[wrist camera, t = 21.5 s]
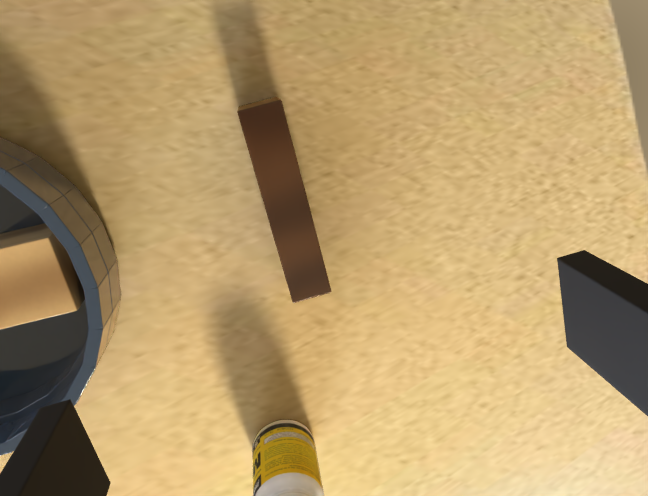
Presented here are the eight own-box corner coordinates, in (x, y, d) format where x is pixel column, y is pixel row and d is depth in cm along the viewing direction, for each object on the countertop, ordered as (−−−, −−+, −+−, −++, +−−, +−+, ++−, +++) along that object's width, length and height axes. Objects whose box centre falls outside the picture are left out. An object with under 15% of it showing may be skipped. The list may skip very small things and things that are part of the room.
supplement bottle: (247, 424, 41) (247, 509, 33) (309, 411, 41) (324, 493, 33) (258, 476, 42) (261, 569, 34) (318, 463, 43) (335, 552, 35)
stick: (238, 106, 34) (237, 111, 30) (277, 96, 34) (281, 99, 30) (288, 280, 38) (293, 303, 34) (323, 270, 38) (331, 292, 34)
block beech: (-1, 233, 34) (-36, 257, 29) (72, 216, 34) (48, 237, 30) (27, 299, 35) (-3, 330, 31) (97, 282, 35) (77, 310, 31)
